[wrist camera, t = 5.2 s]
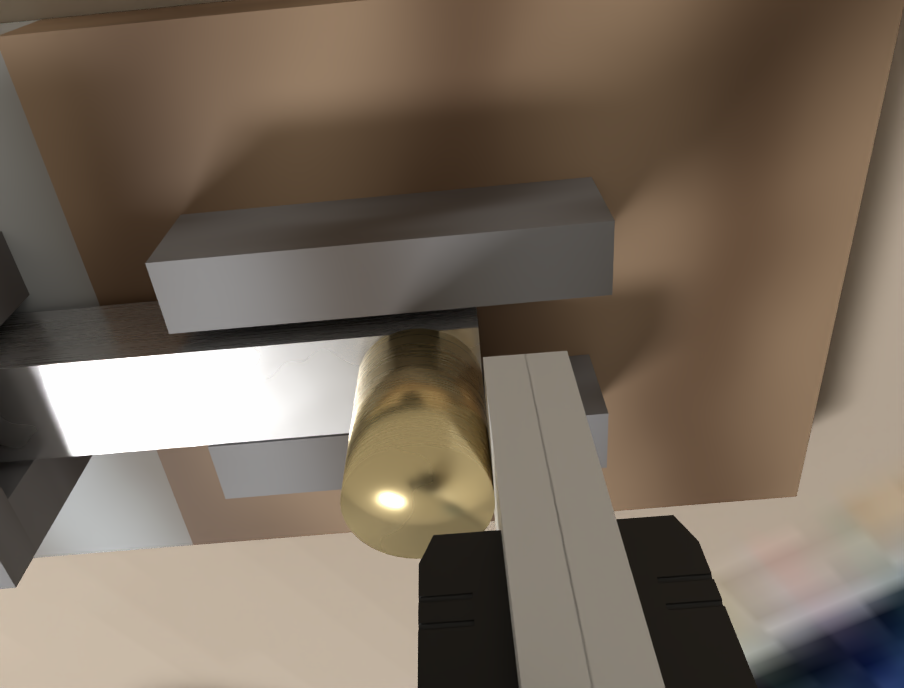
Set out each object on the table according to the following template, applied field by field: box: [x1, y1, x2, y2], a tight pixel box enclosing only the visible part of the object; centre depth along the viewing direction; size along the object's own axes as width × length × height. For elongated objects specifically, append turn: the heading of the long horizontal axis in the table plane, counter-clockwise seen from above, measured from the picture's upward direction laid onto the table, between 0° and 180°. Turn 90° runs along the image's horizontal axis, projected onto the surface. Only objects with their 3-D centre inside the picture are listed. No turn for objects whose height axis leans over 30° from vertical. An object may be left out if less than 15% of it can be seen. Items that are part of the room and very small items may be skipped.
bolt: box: [0, 301, 495, 559], centre depth 15 cm, size 12×3×6 cm, turn 95°
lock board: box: [0, 0, 904, 589], centre depth 16 cm, size 28×14×8 cm, turn 95°
